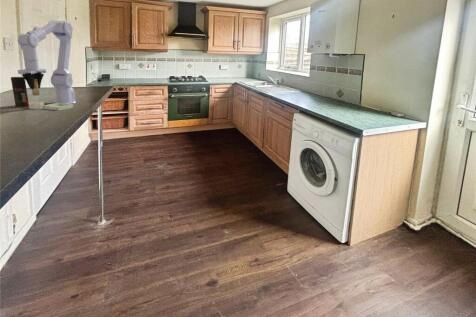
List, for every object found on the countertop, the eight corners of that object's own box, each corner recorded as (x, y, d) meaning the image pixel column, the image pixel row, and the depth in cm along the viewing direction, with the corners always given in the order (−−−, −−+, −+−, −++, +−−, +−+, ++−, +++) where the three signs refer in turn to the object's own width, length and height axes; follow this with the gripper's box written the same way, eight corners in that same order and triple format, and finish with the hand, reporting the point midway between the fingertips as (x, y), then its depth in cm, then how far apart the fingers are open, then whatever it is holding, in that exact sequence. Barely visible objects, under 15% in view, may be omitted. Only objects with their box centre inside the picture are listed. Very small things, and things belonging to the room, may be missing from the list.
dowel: (36, 94, 166) (33, 78, 164) (40, 94, 165) (38, 78, 163) (31, 95, 163) (28, 78, 161) (35, 95, 163) (33, 79, 160)
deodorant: (22, 108, 167) (17, 78, 162) (12, 107, 168) (7, 77, 163) (31, 106, 172) (27, 77, 168) (22, 105, 173) (17, 76, 169)
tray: (60, 106, 175) (59, 102, 174) (74, 108, 173) (73, 104, 172) (43, 109, 165) (42, 105, 164) (58, 111, 163) (57, 107, 162)
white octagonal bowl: (37, 107, 170) (36, 101, 169) (47, 108, 169) (46, 102, 168) (26, 109, 164) (25, 103, 163) (36, 110, 163) (36, 104, 162)
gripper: (24, 60, 151) (29, 90, 156) (49, 60, 165) (53, 87, 169) (12, 60, 153) (17, 89, 157) (38, 59, 166) (42, 86, 171)
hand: (35, 88), depth 163 cm, fingers closed on dowel, 3 cm apart
